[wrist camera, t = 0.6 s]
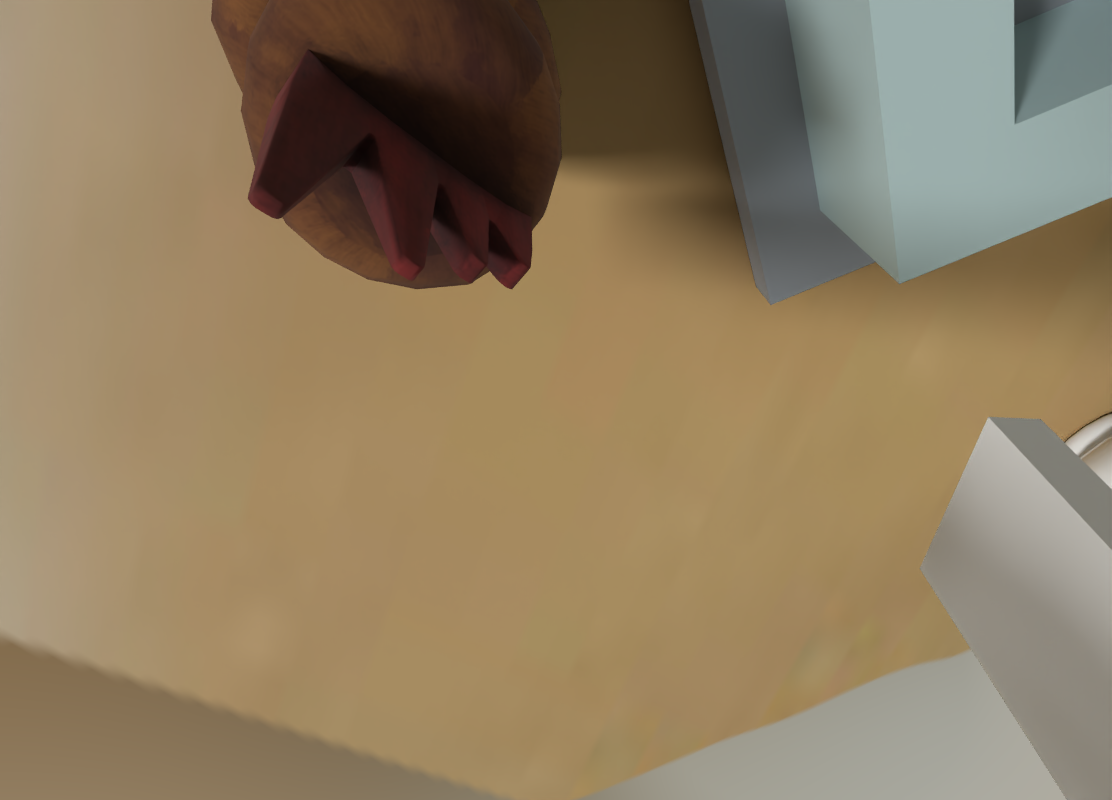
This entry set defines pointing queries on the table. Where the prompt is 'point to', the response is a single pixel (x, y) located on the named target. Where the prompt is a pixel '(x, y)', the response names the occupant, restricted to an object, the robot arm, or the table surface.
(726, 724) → the table surface
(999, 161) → the collar stand
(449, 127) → the wooden figurine
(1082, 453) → the flower vase
